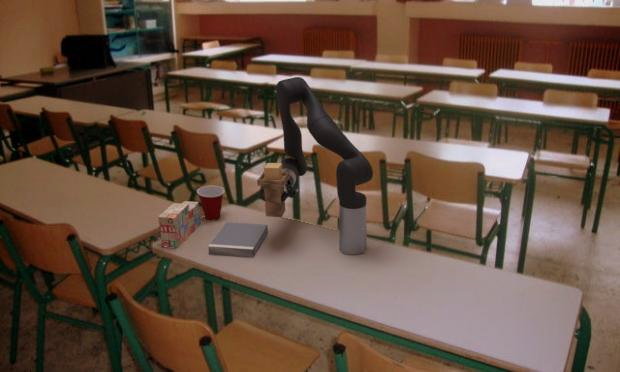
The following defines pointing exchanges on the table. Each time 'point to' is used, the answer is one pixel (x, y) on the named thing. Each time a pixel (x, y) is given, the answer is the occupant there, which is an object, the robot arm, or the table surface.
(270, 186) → the stand
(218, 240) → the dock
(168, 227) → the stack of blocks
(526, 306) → the table surface
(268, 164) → the carton
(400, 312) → the table surface
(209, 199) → the plastic cup
